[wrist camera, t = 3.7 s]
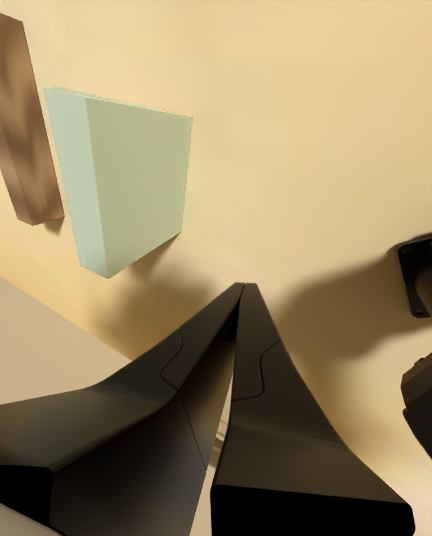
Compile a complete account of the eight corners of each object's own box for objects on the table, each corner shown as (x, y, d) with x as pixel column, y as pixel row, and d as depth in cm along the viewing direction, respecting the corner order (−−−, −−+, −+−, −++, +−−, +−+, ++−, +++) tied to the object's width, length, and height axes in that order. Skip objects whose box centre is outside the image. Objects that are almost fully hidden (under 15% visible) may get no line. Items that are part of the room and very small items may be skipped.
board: (2, 18, 19) (-61, -6, 16) (21, 21, 19) (-39, -3, 16) (50, 210, 29) (17, 219, 26) (64, 216, 29) (32, 225, 26)
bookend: (193, 117, 17) (85, 97, 9) (182, 231, 23) (108, 278, 15) (79, 91, 20) (-81, 58, 12) (93, 198, 26) (-9, 224, 18)
